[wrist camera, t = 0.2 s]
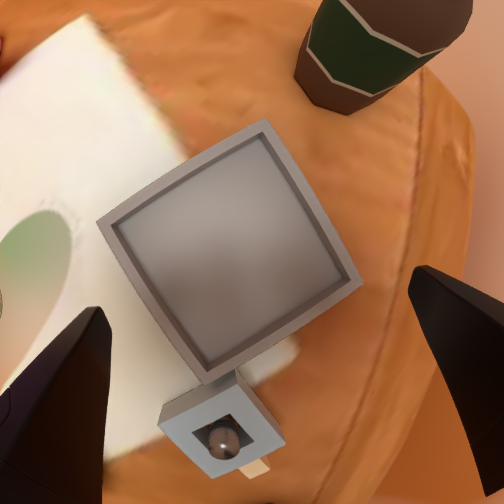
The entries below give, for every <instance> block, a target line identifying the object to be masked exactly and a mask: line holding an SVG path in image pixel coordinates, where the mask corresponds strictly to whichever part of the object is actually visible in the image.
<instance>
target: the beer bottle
mask: <svg viewBox="0 0 504 504" xmlns="http://www.w3.org/2000/svg"><path fill="white" fill-rule="evenodd" d="M472 7H473V0H323V1H322V3H321V5H320V7H319V9H318V11H317V13H316V15H315V17H314V19H313V21H312V23H311V25H310V27H309V29H308V31H307V33H306V36H305V38H304V40H303V43H302V45H301V48H300V51H299V56H298V61H297V65H296V70H295V74H294V77H295V79H296V80H297V81H298V82H299V84H300V85H301V86H302V88H303V89H304V91H305V92H306V93H307V95H308V96H309V97H310V99H311V100H312V102H313V103H314V104H315V105H318V106H322V107H325V108H328V109H331V110H334V111H336V112H339V113H342V114H345V115H350V114H352V113H354V112H356V111H358V110H360V109H362V108H364V107H366V106H368V105H370V104H372V103H374V102H375V101H377V100H378V99H380V98H381V97H383V96H384V95H385V94H387V93H388V92H389V91H390V90H392V89H393V88H394V87H395V86H397V85H398V84H399V83H401V82H402V81H403V80H404V79H406V78H407V77H408V76H410V75H411V74H412V73H414V72H415V71H416V70H417V69H419V68H420V67H421V66H423V65H424V64H425V63H427V62H428V61H429V60H430V59H432V58H433V57H434V56H436V55H437V54H439V53H440V52H441V51H443V50H444V49H445V48H447V47H448V46H449V45H450V44H451V43H452V42H453V41H454V40H455V39H457V38H458V37H459V36H460V35H461V34H462V33H463V32H464V30H465V28H466V26H467V23H468V21H469V19H470V17H471V14H472Z"/></svg>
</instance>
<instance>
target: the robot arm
mask: <svg viewBox="0 0 504 504" xmlns="http://www.w3.org/2000/svg"><path fill="white" fill-rule="evenodd" d="M408 295H409V298H410V300H411V303H412V305H413V308H414V310H415V313H416V315H417V318H418V320H419V323H420V326H421V328H422V331H423V333H424V336H425V338H426V340H427V342H428V344H429V347H430V349H431V351H432V353H433V355H434V357H435V359H436V361H437V364H438V366H439V368H440V370H441V372H442V375H443V377H444V379H445V382H446V384H447V386H448V388H449V391H450V393H451V396H452V398H453V401H454V403H455V406H456V408H457V410H458V413H459V416H460V419H461V421H462V424H463V426H464V429H465V432H466V435H467V438H468V440H469V443H470V447H471V449H472V453H473V456H474V459H475V462H476V465H477V468H478V472H479V475H480V479H481V483H482V486H483V490H484V493H485V496H486V497H487V496H489V495H491V494H493V493H495V492H497V491H499V490H500V489H502V488H504V303H502V302H500V301H498V300H497V299H495V298H493V297H490V296H489V295H487V294H485V293H483V292H481V291H479V290H477V289H475V288H473V287H471V286H469V285H467V284H465V283H463V282H461V281H459V280H457V279H455V278H453V277H451V276H449V275H447V274H445V273H443V272H441V271H439V270H437V269H434V268H432V267H430V266H428V265H422V266H417V267H415V268H414V270H413V273H412V277H411V280H410V283H409V287H408ZM111 346H112V330H111V327H110V325H109V322H108V320H107V318H106V316H105V314H104V311H103V310H102V308H101V307H99V306H94V307H87V308H85V309H84V310H83V311H82V312H81V313H80V314H79V315H78V316H77V317H76V318H75V319H74V320H73V321H72V322H71V323H70V324H69V325H68V326H67V327H66V328H65V329H64V330H63V331H62V332H61V333H60V334H59V335H58V336H57V337H56V338H55V339H54V340H53V341H52V342H51V343H50V344H49V345H48V346H47V347H46V348H45V349H44V350H43V351H42V352H41V353H40V354H39V355H38V356H37V357H36V358H35V359H34V360H33V361H32V362H31V363H30V364H29V365H28V366H27V367H26V369H25V370H24V371H23V372H22V373H21V374H20V375H19V376H18V377H17V378H16V379H15V380H14V381H13V383H12V384H11V385H10V388H7V389H6V390H5V391H4V393H3V394H2V395H1V396H0V504H102V472H103V451H104V437H105V425H106V414H107V405H108V396H109V388H110V371H111Z"/></svg>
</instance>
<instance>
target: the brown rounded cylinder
mask: <svg viewBox="0 0 504 504" xmlns="http://www.w3.org/2000/svg"><path fill="white" fill-rule="evenodd" d="M208 451H209V453H210V455H211V456H212V457H214V458H216V459H219V460H229V459H232V458H234V457H236V456H237V455H238V454H239V451H240V447H239V440H238V432H237V424H236V420H235V419H234V418H233V416H232V415H231V414H230V413H229V414H227V415H225V416H223V417H221V418H219V419H217V420H216V421H214V422H212V423H210V424H209V434H208Z"/></svg>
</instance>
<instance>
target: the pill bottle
mask: <svg viewBox="0 0 504 504" xmlns="http://www.w3.org/2000/svg"><path fill="white" fill-rule="evenodd" d="M1 313H2V295H1V291H0V317H1Z"/></svg>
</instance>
